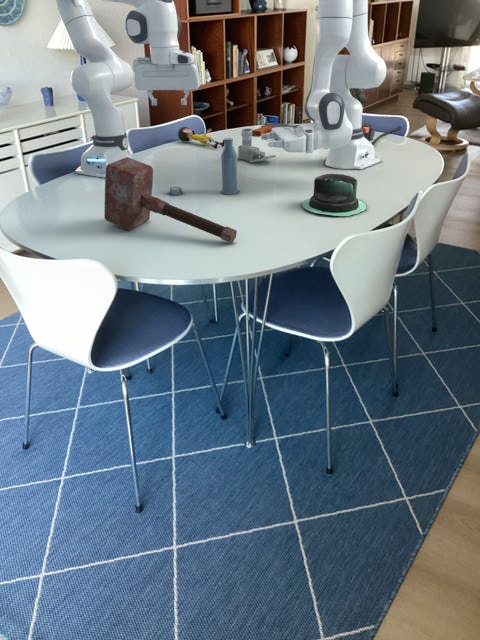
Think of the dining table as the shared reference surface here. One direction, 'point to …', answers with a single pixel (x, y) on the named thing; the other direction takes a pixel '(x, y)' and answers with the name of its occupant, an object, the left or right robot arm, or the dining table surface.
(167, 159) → the dining table surface
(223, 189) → the bottle
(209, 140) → the figurine
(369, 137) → the toy
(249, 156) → the camera
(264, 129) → the submachine gun
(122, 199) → the sledgehammer
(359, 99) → the statue
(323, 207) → the round two-tone rimmed part
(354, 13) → the right robot arm
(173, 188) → the cap
